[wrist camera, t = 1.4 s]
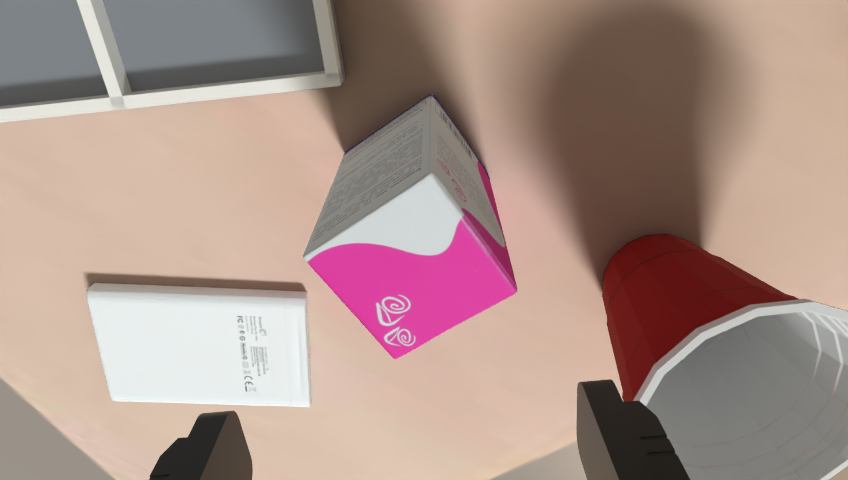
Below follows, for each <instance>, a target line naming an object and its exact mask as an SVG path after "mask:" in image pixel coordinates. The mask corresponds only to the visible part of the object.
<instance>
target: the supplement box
mask: <svg viewBox="0 0 848 480" xmlns="http://www.w3.org/2000/svg"><path fill="white" fill-rule="evenodd" d="M303 257H304V259H305V261H306V262H308V263H309V265H310V266H311V267H312V268H313V269H314V271H315V272H316V273H317V274H318V275H319V276H320V277H321V278H322V279H323V280H324V282H325V283H326V284H327V285H328V286H329V287H330V288H331V289H332V290H333V292H334V293H335V294H336V295H337V296H338V297H339V298H340V299H341V301H342V302H343V303H344V304H345V305H346V306H347V307H348V308H349V309H350V310H351V312H352V313H353V314H354V315H355V316H356V317H357V318H358V319H359V320H360V322H361V323H362V324H363V325H364V326H365V327H366V328H367V329H368V331H369V332H370V333H371V334H372V335H373V336H374V337H375V338H376V340H377V341H378V342H379V343H380V344H381V345H382V346H383V347H384V348H385V350H386V351H387V352H388V353H389V354H390V355H391V356H392V357H393V358H394V359H397V358H399V357H401V356H403V355H405V354H407V353H408V352H410V351H412V350H414V349H416V348H417V347H419V346H421V345H423V344H424V343H426V342H428V341H429V340H431V339H433V338H434V337H436V336H438V335H440V334H441V333H443V332H445V331H447V330H449V329H450V328H452V327H454V326H456V325H458V324H460V323H462V322H463V321H465V320H467V319H469V318H471V317H473V316H475V315H476V314H478V313H480V312H482V311H484V310H486V309H488V308H490V307H491V306H493V305H495V304H497V303H499V302H501V301H503V300H505V299H507V298H508V297H510V296H512V295H514V294H516V293H517V286H516V282H515V278H514V274H513V270H512V266H511V262H510V258H509V254H508V250H507V246H506V242H505V238H504V235H503V231H502V227H501V223H500V219H499V215H498V211H497V207H496V203H495V199H494V195H493V191H492V187H491V183H490V178H489V176H488V174H487V172H486V170H485V169H484V167H483V166H482V164H481V163H480V161H479V159H478V158H477V156H476V155H475V153H474V152H473V150H472V149H471V148H470V146H469V145H468V143H467V142H466V140H465V139H464V137H463V136H462V134H461V133H460V131H459V130H458V128H457V127H456V125H455V124H454V123H453V121H452V120H451V118H450V117H449V115H448V114H447V112H446V111H445V110H444V108H443V107H442V105H441V104H440V103H439V101H438V100H437V98H436V97H435V96H434V94H433V93H431V94H430V95H429V96H427V97H425V98H423V99H422V100H421V101H419V102H418V103H416V104H415V105H413V106H412V107H411V108H409V109H408V110H406V111H405V112H403V113H402V114H400V115H399V116H398V117H396V118H395V119H393V120H392V121H390V122H389V123H387V124H386V125H384V126H383V127H381V128H380V129H378V130H377V131H376V132H374V133H373V134H371V135H370V136H368V137H367V138H365V139H364V140H362V141H361V142H359V143H358V144H357V145H355V146H354V147H352V148H351V149H349V150H348V151H347V152H345V154H344V157H343V159H342V161H341V164H340V166H339V169H338V172H337V174H336V177H335V179H334V182H333V184H332V186H331V188H330V191H329V194H328V196H327V198H326V201H325V203H324V206H323V208H322V211H321V213H320V216H319V218H318V221H317V223H316V225H315V228H314V230H313V233H312V235H311V238H310V240H309V243H308V245H307V248H306V250H305V252H304V255H303Z"/></svg>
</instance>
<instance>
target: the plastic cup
mask: <svg viewBox="0 0 848 480" xmlns="http://www.w3.org/2000/svg"><path fill="white" fill-rule="evenodd" d="M602 297H603V301H604V306H605V310H606V314H607V327H608V331H609V335H610V339H611V344H612V348H613V352H614V356H615V360H616V364H617V369H618V373H619V377H620V381H621V385H622V390H623V396H622V398H623V401H624V402H628V401H640V402H641V403H642V404H644V405H645V406H646V407H647V408H648V409H649V410H650V411H652V412H653V413H654V414H655V415H656V416H657V417H658V419H659V421H660V423H661V425H662V427H663V429H664V430H665V432H666V434H667V438H668V439H669V440H670V442H671V444H672V446H673V448H674V449H675V453H676V455H678V457H679V459H680V461H681V463H682V465H683V466H684V468H685V470H686V472H687V474H688V476H689V478H690V480H828V479H830V478H831V477H832V476H834V475H835V474H836V473H838V472H839V471H841V470H842V469H843V468H845V467H846V466H848V311H846V310H843V309H839V308H835V307H832V306H828V305H825V304H821V303H818V302H814V301H811V300H807V299H798V298H796V297H794V296H790V295H787V294H784V293H782V292H781V291H779V290H777V289H775V288H774V287H772V286H770V285H768V284H766V283H765V282H763V281H761V280H759V279H758V278H756V277H754V276H752V275H751V274H749V273H747V272H745V271H743V270H742V269H740V268H738V267H736V266H735V265H733V264H731V263H729V262H728V261H726V260H724V259H722V258H720V257H718V256H714V255H712V254H710V253H708V252H707V251H705V250H704V249H702V248H700V247H699V246H697V245H695V244H694V243H692V242H690V241H687V240H684V239H680V238H677V237H674V236H671V235H668V234H660V235H646V236H644V237H641V238H639V239H637V240H634V241H632V242H630V243H627V244H626V245H625V246H624V247H623V248H622V249H620V250H619V251H618V252H617V253H616V254H615V255H614V256H613V257H612V258H611V260H610V262H609V264H608V266H607V268H606V270H605V272H604V277H603V293H602Z"/></svg>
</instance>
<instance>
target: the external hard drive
mask: <svg viewBox="0 0 848 480" xmlns="http://www.w3.org/2000/svg"><path fill="white" fill-rule="evenodd" d="M87 302H88V306H89V310H90V314H91V318H92V323H93V327H94V331H95V335H96V339H97V343H98V347H99V351H100V355H101V361H102V365H103V369H104V373H105V377H106V381H107V386H108V389H109V393H110V396H111V399H112V400H113V401H130V402H165V403H198V404H230V405H263V406H294V407H310V406H311V402H312V386H311V364H310V357H309V320H308V296H307V292H304V291H282V290H259V289H235V288H212V287H186V286H162V285H137V284H112V283H93V284H92V285H91V286H90V287H89V288H88V289H87Z"/></svg>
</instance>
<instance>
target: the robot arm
mask: <svg viewBox="0 0 848 480" xmlns="http://www.w3.org/2000/svg"><path fill="white" fill-rule="evenodd" d="M577 442H578V448H579V453H580V458H581V461H582V464H583V467H584V470H585V474H586V477H587V480H690V478H689V476H688V474H687V472H686V470H685V468H684V466H683V465H682V463H681V461H680V459H679V457H678V455H676V453H675V449H674V448H673V446H672V444H671V442H670V440H669V439H668V438H667V434H666V432H665V430H664V429H663V427H662V425H661V423H660V421H659V419H658V417H657V416H656V415H655V414H654V413H653V412H652V411H650V410H649V409H648V408H647V407H646V406H645V405H644V404H642V403H641V402H640V401H628V402H623V401H622V399H621V397H620V394H619V392H618V390H617V388H616V386H615V384H614V382H613V381H612V380H599V381H587V382H579V383H578V387H577ZM150 480H252V460H251V456H250V452H249V449H248V446H247V443H246V440H245V437H244V433H243V430H242V427H241V424H240V421H239V418H238V415H237V413H236V412H234V411H225V412H213V413H203V414H201V415H199V417H198V418H197V420H196V422H195V424H194V426H193V428H192V430H191V432H190V434H189V436H188V437H187V438H178V439H177V440H176V441H175V442H174V443H173V444H172V445H171V446H170V447H169V448H168V449H167V450H166V451H165V452H164V453H163V454H162V455H161V456H160V458H159V460H158V461H157V463H156V465H155V467H154V469H153V471H152V473H151V475H150Z"/></svg>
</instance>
